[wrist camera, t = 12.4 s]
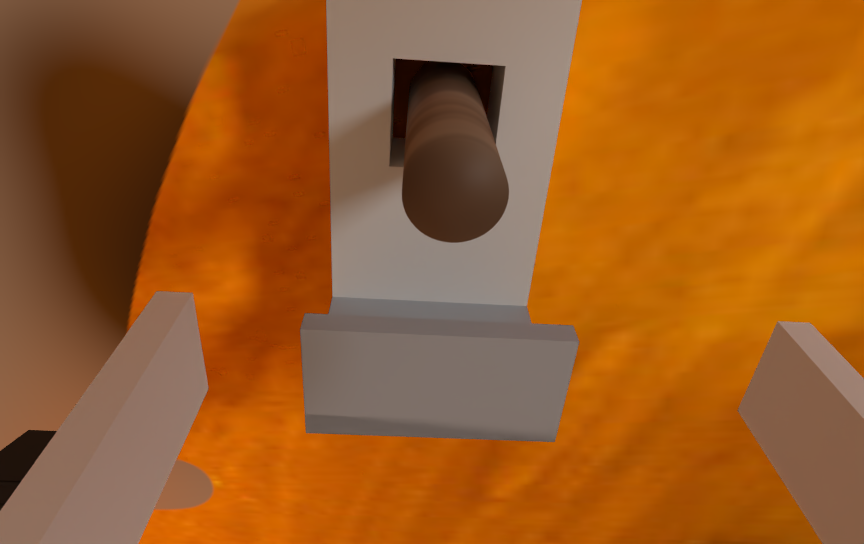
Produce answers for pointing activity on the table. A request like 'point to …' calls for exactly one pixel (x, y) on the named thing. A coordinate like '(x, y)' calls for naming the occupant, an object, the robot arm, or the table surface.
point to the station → (431, 259)
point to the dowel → (450, 157)
